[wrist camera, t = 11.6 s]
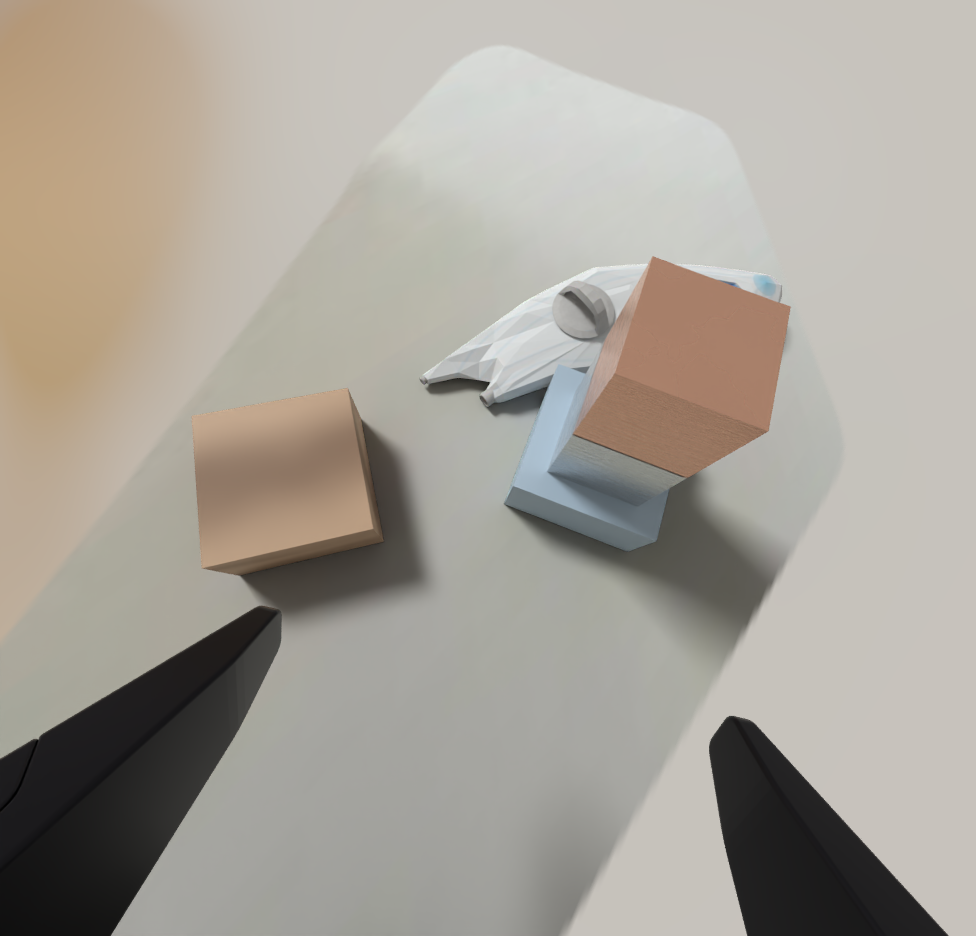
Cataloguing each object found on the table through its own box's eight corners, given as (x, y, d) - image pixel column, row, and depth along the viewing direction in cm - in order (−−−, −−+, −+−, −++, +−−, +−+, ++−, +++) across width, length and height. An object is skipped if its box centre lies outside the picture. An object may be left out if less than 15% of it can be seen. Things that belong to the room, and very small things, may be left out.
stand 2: (627, 551, 24) (656, 541, 20) (504, 503, 24) (512, 485, 21) (657, 438, 26) (688, 412, 23) (544, 395, 26) (558, 363, 23)
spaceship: (735, 265, 31) (781, 211, 27) (778, 346, 29) (834, 301, 25) (404, 328, 27) (396, 276, 23) (430, 425, 25) (428, 388, 21)
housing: (637, 506, 21) (768, 431, 12) (546, 471, 21) (614, 373, 12) (659, 425, 22) (790, 306, 14) (574, 392, 22) (652, 256, 14)
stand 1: (384, 541, 23) (373, 528, 19) (239, 575, 22) (201, 568, 18) (361, 418, 25) (347, 388, 21) (227, 443, 24) (191, 415, 20)
